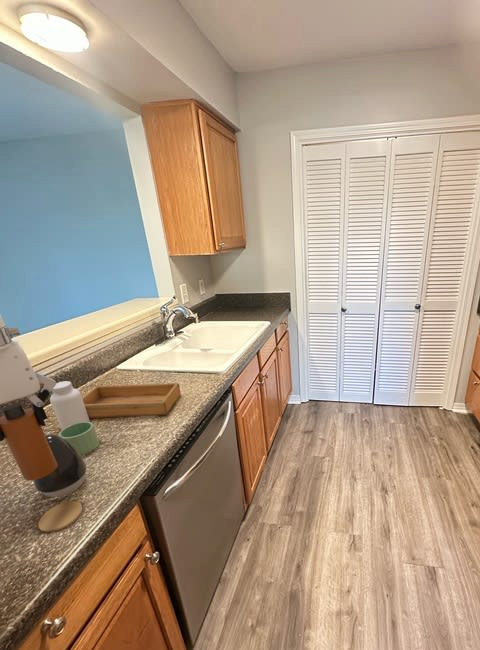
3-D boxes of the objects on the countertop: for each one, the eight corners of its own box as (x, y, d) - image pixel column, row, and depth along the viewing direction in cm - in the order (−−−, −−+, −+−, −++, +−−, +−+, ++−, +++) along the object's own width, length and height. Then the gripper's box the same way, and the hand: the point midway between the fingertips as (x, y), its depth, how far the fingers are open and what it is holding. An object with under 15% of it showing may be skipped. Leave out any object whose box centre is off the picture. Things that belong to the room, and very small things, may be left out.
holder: (62, 460, 89) (54, 441, 86) (70, 444, 96) (63, 425, 94) (96, 452, 92) (90, 433, 89) (102, 437, 99) (95, 418, 96)
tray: (181, 395, 122) (178, 381, 120) (166, 416, 108) (163, 401, 106) (100, 399, 122) (95, 385, 120) (75, 421, 108) (70, 406, 106)
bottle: (19, 483, 63) (-15, 417, 57) (29, 466, 67) (-1, 403, 61) (53, 475, 64) (24, 410, 58) (60, 458, 69) (34, 397, 63)
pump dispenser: (39, 488, 79) (14, 436, 73) (87, 468, 85) (68, 419, 79) (41, 512, 72) (15, 457, 66) (94, 489, 78) (74, 436, 72)
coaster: (33, 537, 66) (32, 536, 66) (45, 509, 73) (45, 507, 73) (78, 524, 69) (77, 522, 68) (86, 498, 76) (85, 496, 75)
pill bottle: (74, 434, 101) (58, 391, 95) (55, 431, 103) (38, 389, 97) (96, 420, 108) (82, 380, 102) (77, 417, 110) (63, 378, 104)
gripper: (38, 326, 63) (69, 406, 70) (-92, 350, 52) (-40, 443, 59) (46, 332, 58) (78, 418, 65) (-96, 361, 47) (-38, 461, 54)
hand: (22, 429), depth 62 cm, fingers closed on bottle, 5 cm apart
